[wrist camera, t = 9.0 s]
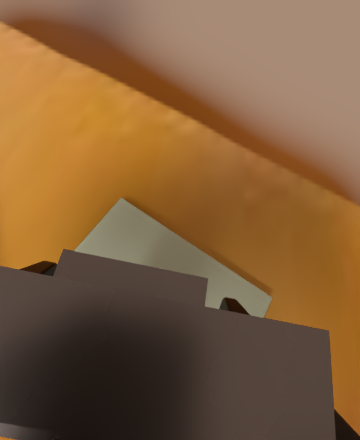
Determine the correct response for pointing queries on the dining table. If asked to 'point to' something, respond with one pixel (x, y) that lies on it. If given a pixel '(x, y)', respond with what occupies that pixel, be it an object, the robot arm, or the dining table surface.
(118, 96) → the dining table surface
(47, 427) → the t key
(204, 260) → the pad
